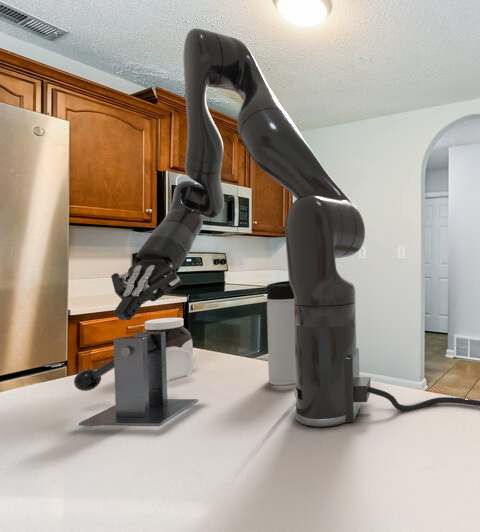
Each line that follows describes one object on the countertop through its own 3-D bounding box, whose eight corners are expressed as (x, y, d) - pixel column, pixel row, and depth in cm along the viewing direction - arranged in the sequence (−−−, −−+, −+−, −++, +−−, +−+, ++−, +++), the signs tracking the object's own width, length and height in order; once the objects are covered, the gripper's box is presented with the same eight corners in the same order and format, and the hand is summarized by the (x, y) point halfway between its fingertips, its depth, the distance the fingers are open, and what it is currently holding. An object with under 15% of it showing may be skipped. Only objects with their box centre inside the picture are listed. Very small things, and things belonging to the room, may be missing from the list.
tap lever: (75, 398, 56) (64, 379, 56) (93, 390, 59) (83, 373, 59) (146, 354, 55) (134, 335, 55) (161, 348, 58) (150, 331, 58)
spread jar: (167, 368, 83) (166, 316, 83) (214, 369, 82) (212, 316, 81) (120, 386, 71) (118, 326, 71) (173, 389, 70) (172, 327, 69)
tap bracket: (78, 431, 53) (75, 342, 52) (128, 406, 62) (125, 329, 61) (160, 432, 52) (157, 341, 52) (198, 406, 61) (196, 329, 61)
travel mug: (311, 382, 72) (309, 279, 72) (284, 393, 67) (281, 281, 66) (289, 377, 75) (287, 278, 75) (261, 387, 70) (259, 281, 69)
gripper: (125, 234, 74) (70, 304, 62) (190, 233, 73) (147, 303, 61) (146, 261, 79) (98, 330, 67) (206, 260, 78) (169, 329, 67)
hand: (122, 317), depth 64 cm, fingers closed
